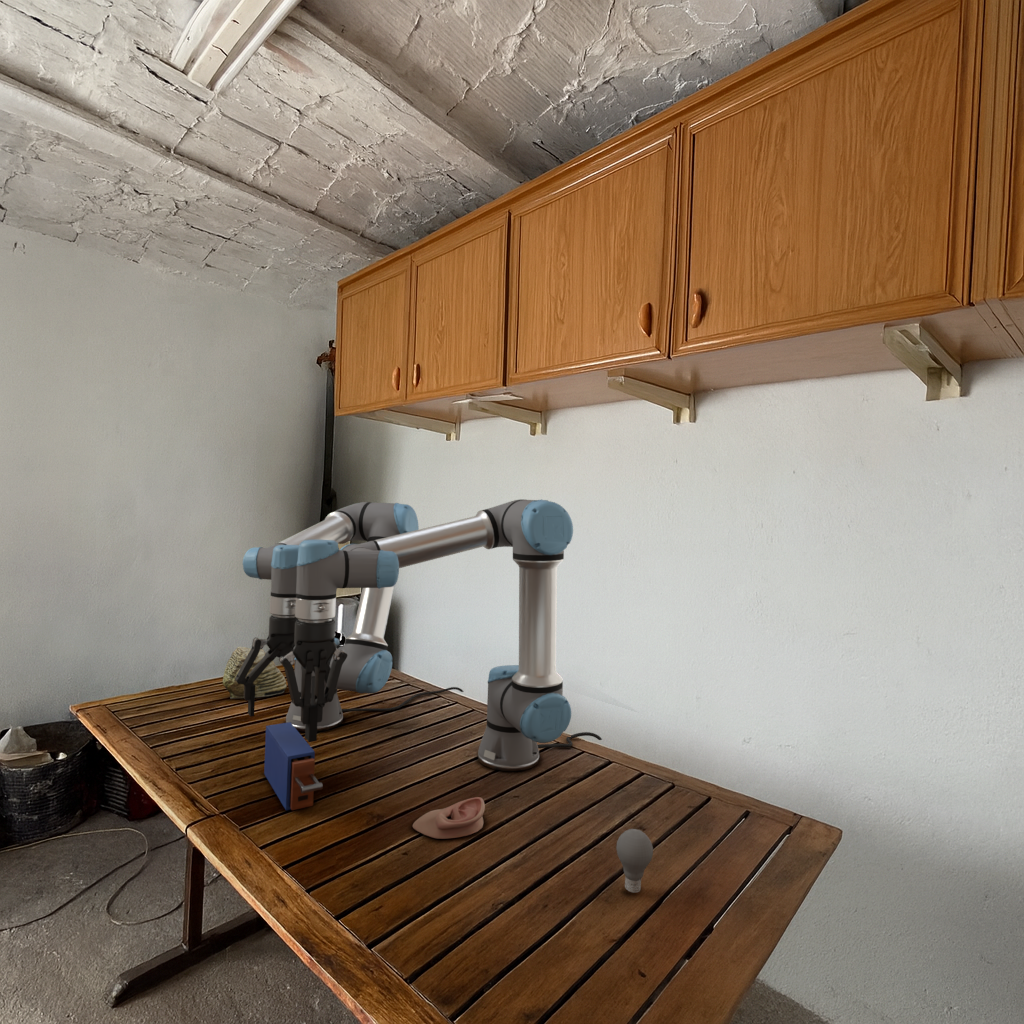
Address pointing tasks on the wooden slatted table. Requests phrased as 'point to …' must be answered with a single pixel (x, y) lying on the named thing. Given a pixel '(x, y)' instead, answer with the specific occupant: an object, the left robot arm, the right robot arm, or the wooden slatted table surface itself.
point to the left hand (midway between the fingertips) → (283, 710)
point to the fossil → (264, 684)
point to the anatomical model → (453, 820)
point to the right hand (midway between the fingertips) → (310, 739)
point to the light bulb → (634, 857)
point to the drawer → (303, 782)
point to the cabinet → (283, 757)
